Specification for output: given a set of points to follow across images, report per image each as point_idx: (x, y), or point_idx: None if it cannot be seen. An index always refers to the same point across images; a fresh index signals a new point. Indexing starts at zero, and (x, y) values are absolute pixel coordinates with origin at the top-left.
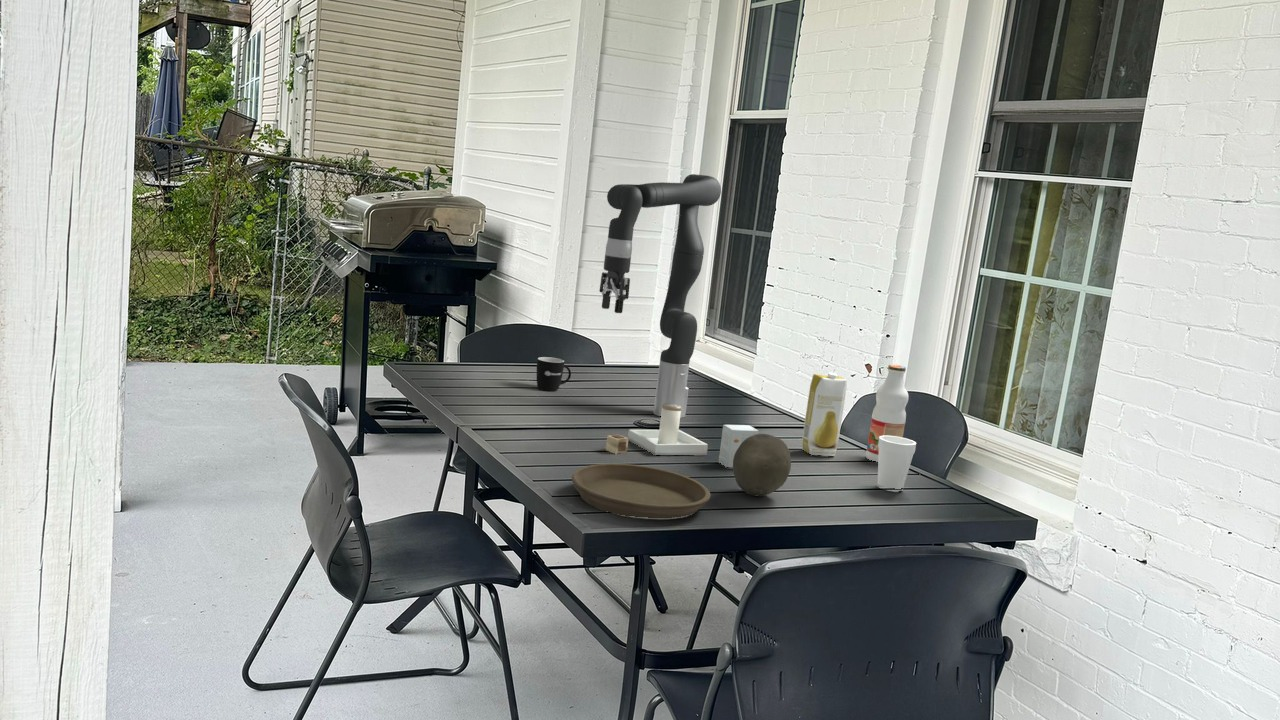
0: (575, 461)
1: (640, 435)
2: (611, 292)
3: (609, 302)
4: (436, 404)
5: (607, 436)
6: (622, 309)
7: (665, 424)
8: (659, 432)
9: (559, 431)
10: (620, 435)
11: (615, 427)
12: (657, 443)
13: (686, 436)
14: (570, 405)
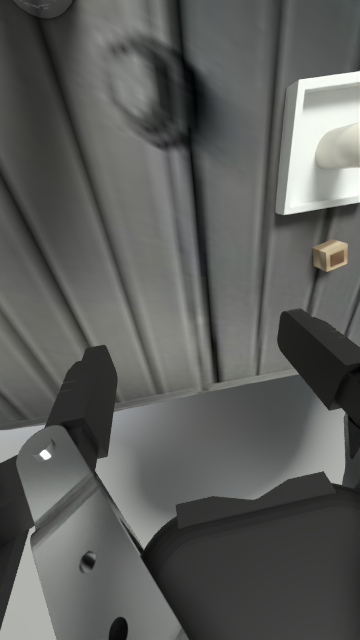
0: (342, 311)
1: (320, 206)
2: (84, 462)
3: (95, 375)
4: (115, 407)
5: (326, 271)
6: (313, 318)
7: None
8: (339, 168)
9: (224, 303)
10: (331, 251)
11: (196, 206)
12: (319, 168)
13: (340, 85)
14: (38, 247)
